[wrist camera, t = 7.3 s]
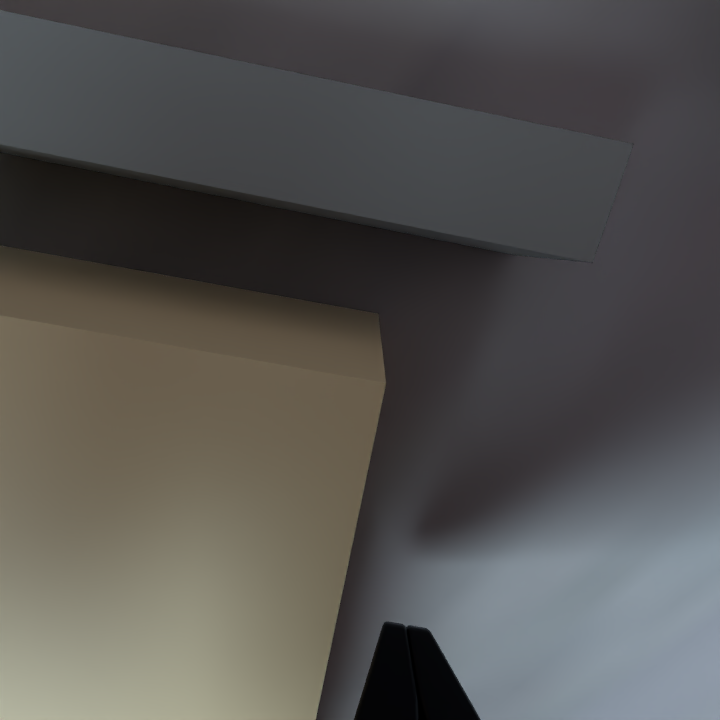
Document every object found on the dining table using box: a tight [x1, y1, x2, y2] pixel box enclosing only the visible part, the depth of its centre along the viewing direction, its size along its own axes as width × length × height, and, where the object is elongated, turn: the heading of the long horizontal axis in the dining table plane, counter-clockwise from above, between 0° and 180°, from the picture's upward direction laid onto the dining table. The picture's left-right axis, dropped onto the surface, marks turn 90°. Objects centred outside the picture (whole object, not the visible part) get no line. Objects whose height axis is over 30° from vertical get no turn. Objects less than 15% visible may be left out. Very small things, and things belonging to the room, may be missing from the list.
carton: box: [0, 245, 386, 720], centre depth 7 cm, size 8×12×4 cm, turn 170°
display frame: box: [0, 10, 634, 263], centre depth 7 cm, size 14×16×2 cm
